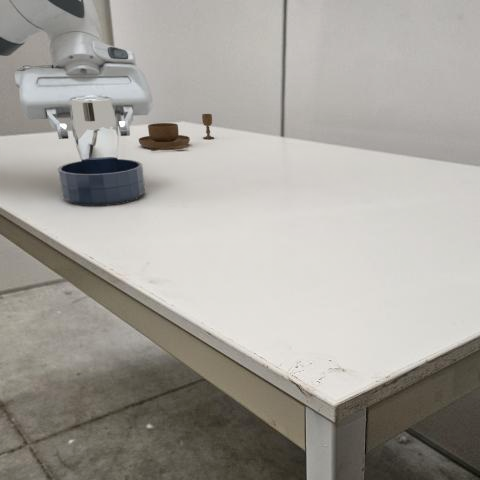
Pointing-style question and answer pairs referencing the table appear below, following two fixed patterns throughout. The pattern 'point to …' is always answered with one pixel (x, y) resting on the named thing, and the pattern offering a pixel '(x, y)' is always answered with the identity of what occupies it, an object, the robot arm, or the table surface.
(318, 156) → the table surface
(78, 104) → the beer glass
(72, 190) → the bowl
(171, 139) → the place setting
